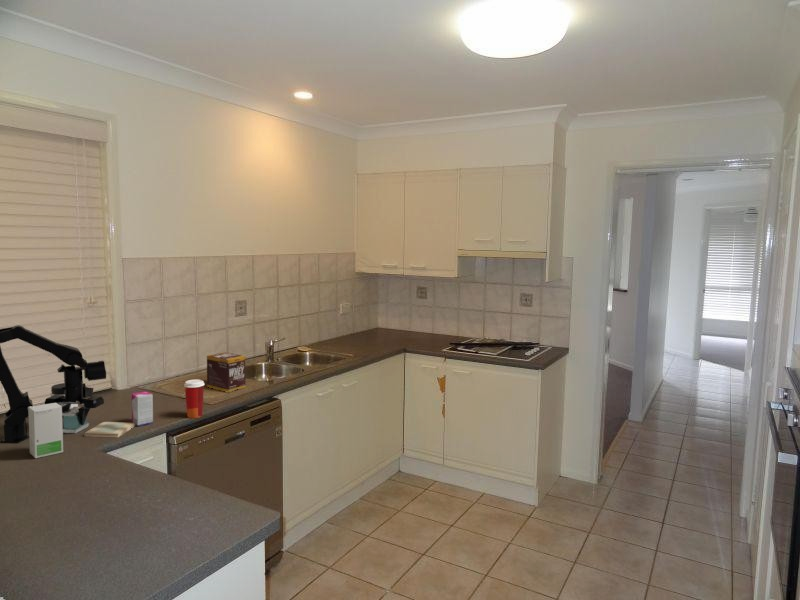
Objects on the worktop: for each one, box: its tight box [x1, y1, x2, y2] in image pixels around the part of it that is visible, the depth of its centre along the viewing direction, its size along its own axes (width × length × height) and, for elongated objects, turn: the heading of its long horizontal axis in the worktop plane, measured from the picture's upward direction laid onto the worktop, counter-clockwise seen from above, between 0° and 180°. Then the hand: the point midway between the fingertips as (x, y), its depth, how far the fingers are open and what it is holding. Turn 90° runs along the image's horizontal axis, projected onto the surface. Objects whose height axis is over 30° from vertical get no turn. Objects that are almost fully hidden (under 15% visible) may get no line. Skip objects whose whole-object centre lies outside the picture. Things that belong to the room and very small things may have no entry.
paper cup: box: [183, 379, 206, 419], centre depth 214 cm, size 8×8×14 cm
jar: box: [49, 382, 79, 409], centre depth 211 cm, size 9×8×12 cm
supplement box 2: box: [206, 351, 247, 392], centre depth 254 cm, size 10×15×16 cm
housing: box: [62, 406, 90, 434], centre depth 196 cm, size 8×5×7 cm, turn 178°
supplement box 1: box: [131, 391, 154, 427], centre depth 204 cm, size 6×6×12 cm
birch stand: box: [83, 421, 136, 438], centre depth 196 cm, size 12×12×1 cm
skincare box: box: [28, 403, 64, 459], centre depth 175 cm, size 8×7×16 cm
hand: (75, 424), depth 196 cm, fingers closed on housing, 5 cm apart
